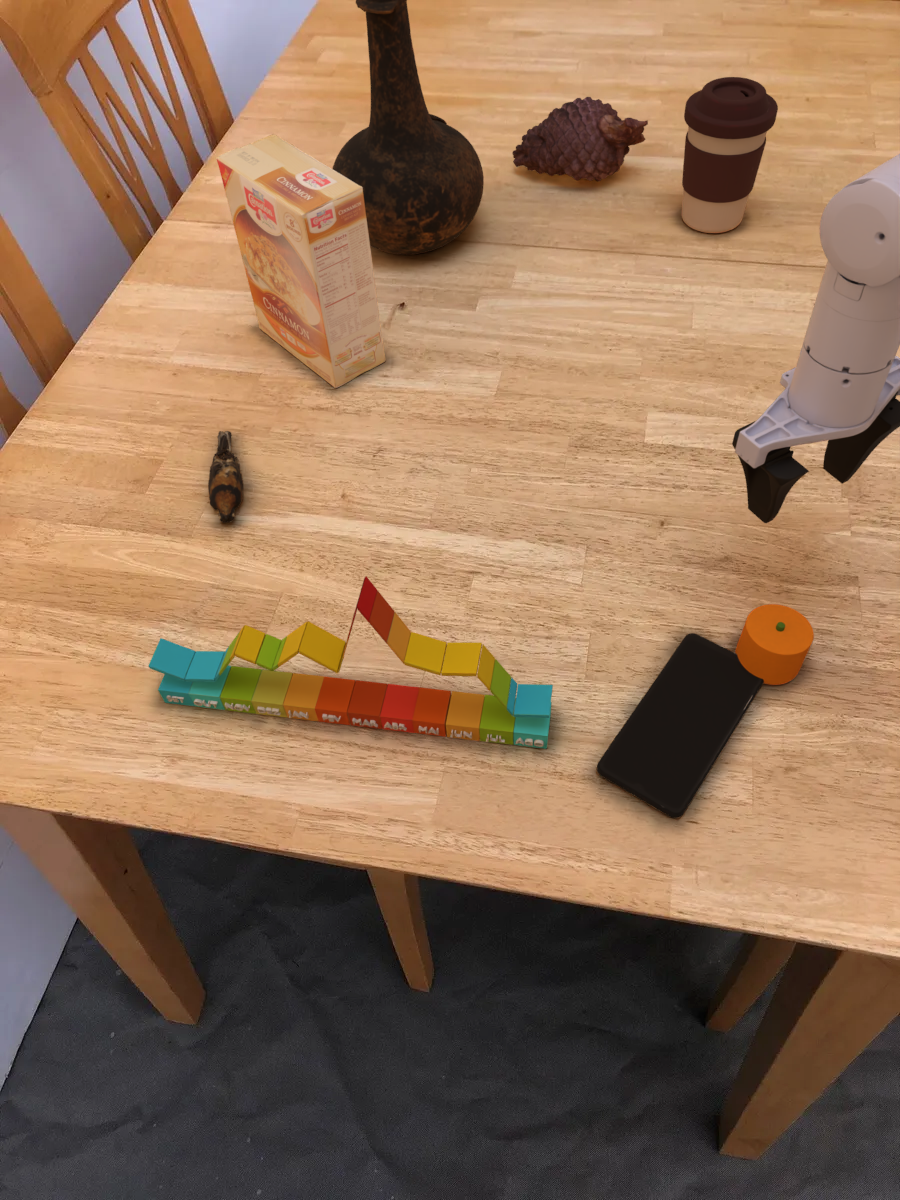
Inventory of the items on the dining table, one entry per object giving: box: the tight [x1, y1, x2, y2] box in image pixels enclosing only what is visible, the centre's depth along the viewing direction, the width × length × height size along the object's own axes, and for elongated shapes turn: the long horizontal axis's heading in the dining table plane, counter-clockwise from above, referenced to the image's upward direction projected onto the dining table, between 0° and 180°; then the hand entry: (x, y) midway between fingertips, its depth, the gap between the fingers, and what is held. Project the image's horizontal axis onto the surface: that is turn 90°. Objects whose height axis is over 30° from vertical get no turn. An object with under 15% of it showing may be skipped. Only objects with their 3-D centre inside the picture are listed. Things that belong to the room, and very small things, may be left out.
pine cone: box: [511, 96, 649, 183], centre depth 118 cm, size 18×10×10 cm
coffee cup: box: [681, 76, 779, 234], centre depth 107 cm, size 10×10×15 cm
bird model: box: [207, 430, 244, 524], centre depth 87 cm, size 3×14×3 cm, turn 6°
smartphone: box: [596, 632, 764, 819], centre depth 69 cm, size 7×1×15 cm
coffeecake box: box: [215, 133, 386, 389], centre depth 93 cm, size 15×7×20 cm, turn 40°
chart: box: [147, 575, 554, 750], centre depth 66 cm, size 30×3×15 cm, turn 80°
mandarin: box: [734, 603, 815, 686], centre depth 71 cm, size 5×5×4 cm
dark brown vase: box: [332, 0, 485, 256], centre depth 103 cm, size 18×18×28 cm
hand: (798, 494), depth 71 cm, fingers open, 7 cm apart
